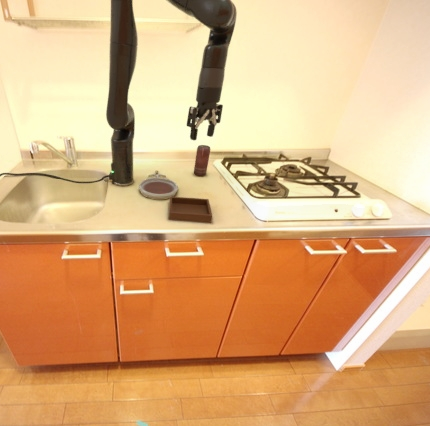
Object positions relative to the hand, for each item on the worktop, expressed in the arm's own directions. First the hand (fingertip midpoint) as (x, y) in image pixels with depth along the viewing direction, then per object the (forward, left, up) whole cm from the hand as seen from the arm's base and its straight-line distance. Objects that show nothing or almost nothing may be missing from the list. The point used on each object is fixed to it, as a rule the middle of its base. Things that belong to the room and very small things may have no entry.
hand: (201, 138), depth 80 cm
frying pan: (-15, +10, -25) cm, 30 cm away
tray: (-2, -11, -24) cm, 27 cm away
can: (+5, +25, -25) cm, 35 cm away
